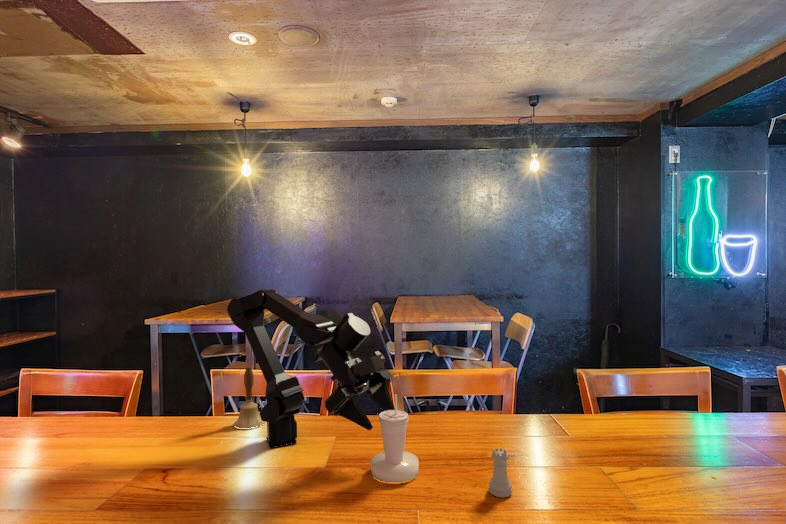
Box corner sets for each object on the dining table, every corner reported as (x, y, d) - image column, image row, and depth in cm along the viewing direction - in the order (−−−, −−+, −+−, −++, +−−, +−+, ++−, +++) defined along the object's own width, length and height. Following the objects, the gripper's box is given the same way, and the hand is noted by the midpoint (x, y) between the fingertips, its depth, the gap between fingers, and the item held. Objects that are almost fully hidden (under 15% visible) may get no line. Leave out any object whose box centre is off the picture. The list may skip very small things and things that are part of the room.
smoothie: (404, 469, 90) (403, 400, 90) (374, 465, 92) (373, 397, 92) (412, 455, 97) (411, 391, 96) (384, 451, 99) (383, 388, 98)
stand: (382, 489, 88) (381, 476, 88) (364, 467, 97) (364, 456, 97) (427, 478, 92) (426, 466, 92) (406, 458, 101) (406, 447, 101)
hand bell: (269, 419, 127) (268, 363, 127) (257, 430, 119) (256, 370, 119) (241, 418, 128) (240, 363, 128) (227, 430, 120) (226, 370, 120)
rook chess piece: (495, 484, 89) (494, 444, 89) (516, 491, 86) (515, 450, 86) (484, 493, 85) (483, 452, 85) (506, 501, 83) (505, 458, 82)
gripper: (335, 349, 90) (381, 413, 85) (384, 334, 106) (426, 387, 100) (306, 382, 94) (348, 446, 89) (358, 363, 110) (397, 416, 105)
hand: (383, 421), depth 96 cm, fingers open, 9 cm apart
